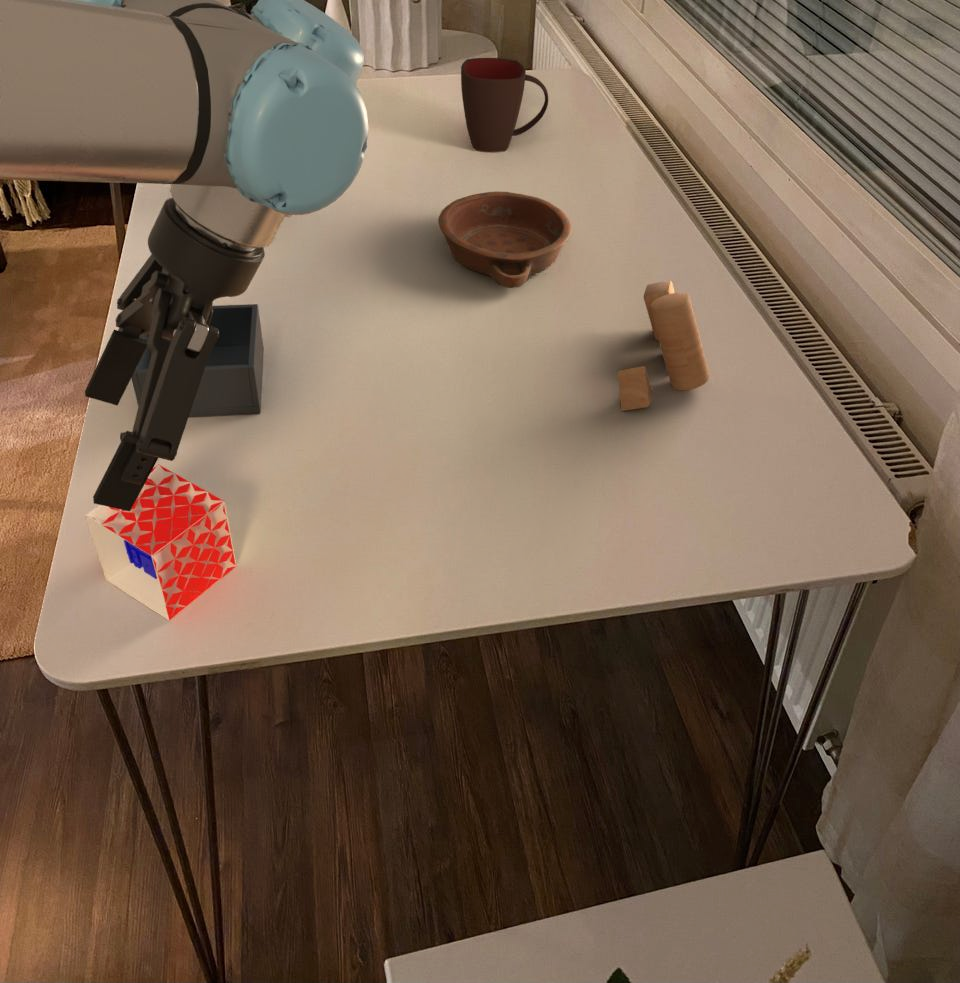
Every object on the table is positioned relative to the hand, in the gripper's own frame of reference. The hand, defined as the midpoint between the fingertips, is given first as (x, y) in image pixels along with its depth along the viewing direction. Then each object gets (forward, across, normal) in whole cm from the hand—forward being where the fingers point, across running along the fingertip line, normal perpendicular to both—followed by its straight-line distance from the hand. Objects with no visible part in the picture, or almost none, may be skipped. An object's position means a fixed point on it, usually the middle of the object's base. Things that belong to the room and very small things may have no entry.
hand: (105, 448), depth 77 cm
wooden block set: (-20, +14, -57) cm, 62 cm away
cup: (-22, +78, -60) cm, 101 cm away
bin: (+6, +26, -15) cm, 30 cm away
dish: (-16, +44, -50) cm, 69 cm away
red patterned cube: (+10, -2, -10) cm, 14 cm away
